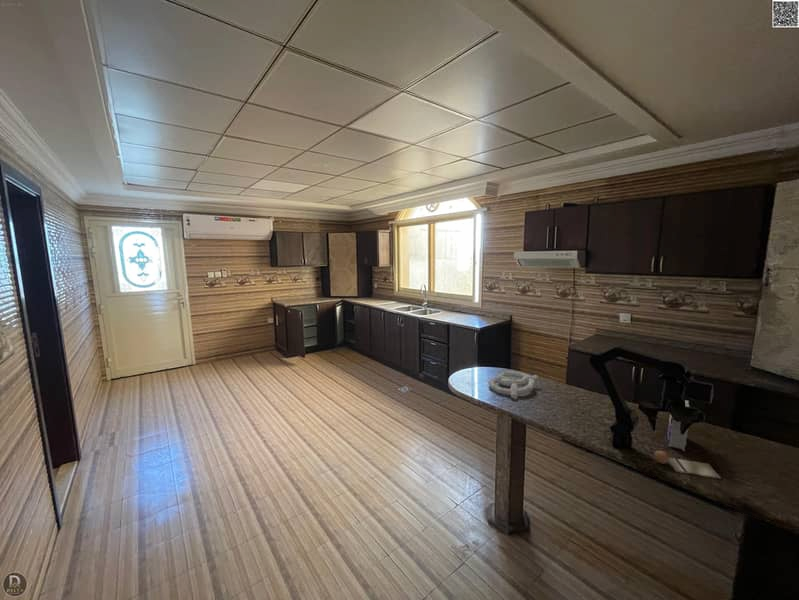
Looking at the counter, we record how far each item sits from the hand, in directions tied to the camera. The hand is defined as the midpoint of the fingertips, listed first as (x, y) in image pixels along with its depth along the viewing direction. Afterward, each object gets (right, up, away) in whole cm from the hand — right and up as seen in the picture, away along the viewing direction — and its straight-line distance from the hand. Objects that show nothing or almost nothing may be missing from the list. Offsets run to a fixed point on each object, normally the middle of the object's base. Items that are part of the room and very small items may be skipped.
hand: (667, 432), depth 122 cm
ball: (-1, -12, +1) cm, 12 cm away
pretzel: (-34, -2, +69) cm, 77 cm away
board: (+7, -12, -2) cm, 14 cm away
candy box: (+16, -10, +15) cm, 24 cm away
